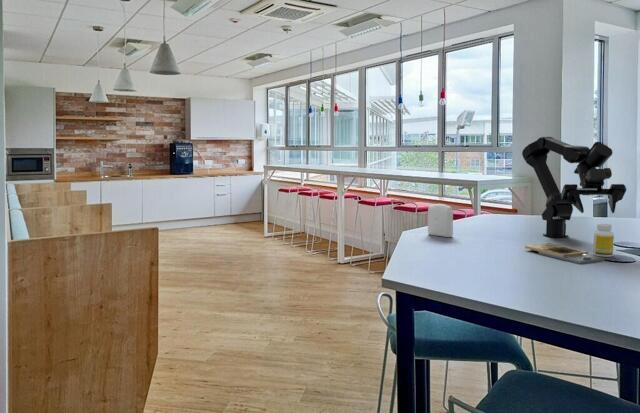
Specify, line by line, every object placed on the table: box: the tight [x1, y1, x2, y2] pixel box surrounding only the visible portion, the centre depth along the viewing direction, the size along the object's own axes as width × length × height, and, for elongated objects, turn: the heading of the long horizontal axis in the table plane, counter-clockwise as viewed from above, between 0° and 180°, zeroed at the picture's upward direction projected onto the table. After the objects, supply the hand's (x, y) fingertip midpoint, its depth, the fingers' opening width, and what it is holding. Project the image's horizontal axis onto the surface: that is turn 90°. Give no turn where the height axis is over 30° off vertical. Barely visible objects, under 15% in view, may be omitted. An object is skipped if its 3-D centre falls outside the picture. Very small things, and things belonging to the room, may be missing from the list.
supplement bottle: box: [592, 223, 615, 258], centre depth 165 cm, size 5×5×10 cm
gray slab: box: [524, 242, 606, 265], centre depth 167 cm, size 22×10×2 cm, turn 22°
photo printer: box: [427, 203, 454, 238], centre depth 205 cm, size 10×4×12 cm, turn 39°
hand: (598, 212), depth 171 cm, fingers open, 9 cm apart
